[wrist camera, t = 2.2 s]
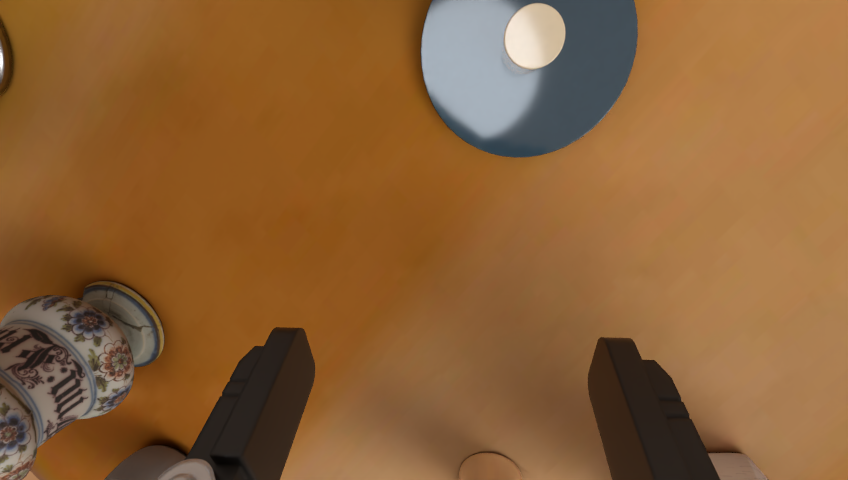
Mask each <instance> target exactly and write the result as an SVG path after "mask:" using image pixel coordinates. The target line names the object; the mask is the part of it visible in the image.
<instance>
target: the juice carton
mask: <svg viewBox="0 0 848 480" xmlns="http://www.w3.org/2000/svg"><path fill="white" fill-rule="evenodd" d="M708 455H709V457H710V459H711V461H712V463H713V465H714V467H715V469H716V471H717V474H718V476H719V478H720V480H768V479H767V477H766V476H765V475H764V474H763V473H762V472H761V470H760V469H759V468H758V467H757V466H756V465H755V464H754V462H753V461H752V460H751V459H750V458H749V457H748V456H747V455H745V454H740V453H708Z"/></svg>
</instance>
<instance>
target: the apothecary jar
mask: <svg viewBox="0 0 848 480" xmlns="http://www.w3.org/2000/svg"><path fill="white" fill-rule="evenodd" d="M163 347H164V331H163V327H162V324H161V321H160V319H159V317H158V316H157V314H156V312H155V311H154V310H153V308H152V307H151V306H150V304H149V303H148V302H147V301H146V300H145V299H144V298H143V297H141V296H140V295H139V294H138V293H136V292H135V291H133V290H132V289H130V288H128V287H126V286H124V285H122V284H119V283H115V282H110V281H98V282H94V283H91V284H89V285H87V286H86V287H85V288H84V293H83V297H82V298H78V299H75V298H71V297H66V296H58V295H47V296H40V297H35V298H31V299H28V300H26V301H23V302H22V303H20V304H18V305H16V306H15V307H14V308H12V309H11V310H10V311H9V312H8V313H7V314H6V316H5V317H4V318H3V320H2V322H1V324H0V480H22V479H23V478H24V477H25V476H26V475H27V474H28V472H29V471H30V469H31V468H32V466H33V463H34V461H35V458H36V453H37V448H38V447H39V446H40V445H42V444H43V443H44V442H46V441H47V440H48V439H49V438H51V437H52V436H54V435H55V434H56V433H58V432H59V431H60V430H62V429H63V428H65V427H66V426H68V425H69V424H70V423H72V422H74V421H75V420H76V419H86V418H92V417H97V416H100V415H103V414H105V413H107V412H109V411H111V410H112V409H114V408H115V407H117V406H118V405H119V404H120V403H121V402H122V401H123V400H124V399H125V397H126V396H127V394H128V393H129V391H130V389H131V387H132V383H133V378H134V367H142V366H146V365H148V364H151V363H152V362H154V361H155V360H156V359H157V358H158V357H159V356H160V354H161V352H162V350H163Z"/></svg>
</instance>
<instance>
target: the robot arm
mask: <svg viewBox="0 0 848 480" xmlns="http://www.w3.org/2000/svg"><path fill="white" fill-rule="evenodd" d="M11 74H12V55H11V49H10V45H9V41H8V38H7V35H6V33H5V30H4V28H3V26H2V24H1V22H0V95H2V94H3V92H4V91H5V90H6V88H7V86H8V84H9V82H10V79H11ZM314 378H315V363H314V359H313V356H312V353H311V349H310V346H309V343H308V340H307V336H306V333H305V331H304V329H303V328H280V327H276V328H274V329H273V330H272V332H271V333H270V335H269V337H268V339H267V341H266V343H265V345H264V346H255V347H254V348H253V349H252V350H250V351H249V352H248V353H247V354H246V355H245V356H244V357H243V358H242V359H241V360H240V361H239V363H238V365H237V367H236V368H235V370H234V372H233V374H232V376H231V378H230V382H228V383H227V385H226V387H225V389H224V390H223V392H222V396H220V398H219V400H218V401H217V403H216V405H215V407H214V409H213V410H212V412H211V414H210V416H209V418H208V420H207V421H206V423H205V425H204V427H203V429H202V431H201V432H200V434H199V436H198V438H197V440H196V442H195V443H194V445H193V447H192V449H191V451H190V452H189V454H188V455H187V457H186V458H185V459H184V460H183V461H181V462H179V463H176V464H175V465H173V466H171V467H170V468H168V469H167V470H166V471H164V472H163V473H162V474H161V475H160V476H159V477H158V478H157V479H156V480H280V477H281V475H282V472H283V469H284V466H285V463H286V460H287V457H288V455H289V452H290V449H291V446H292V443H293V440H294V437H295V435H296V432H297V429H298V426H299V423H300V420H301V417H302V414H303V412H304V409H305V406H306V403H307V400H308V397H309V394H310V392H311V389H312V386H313V382H314ZM588 390H589V396H590V400H591V404H592V407H593V411H594V414H595V418H596V422H597V425H598V429H599V432H600V436H601V440H602V443H603V447H604V450H605V454H606V457H607V461H608V465H609V468H610V472H611V475H612V479H613V480H720V478H719V476H718V474H717V471H716V469H715V467H714V465H713V463H712V461H711V459H710V457H709V455H708V453H707V451H706V449H705V447H704V444H703V442H702V440H701V438H700V436H699V434H698V432H697V430H696V428H695V426H694V424H693V422H692V420H691V419H690V418H689V413H688V411H687V409H686V407H685V405H684V403H683V402H681V397H680V395H679V393H678V390H677V388H676V386H675V384H674V382H673V380H672V378H671V377H670V376H669V375H668V374H667V373H666V372H665V371H664V370H663V369H662V368H661V366H660V365H659V364H658V363H657V362H656V361H655V360H642V359H641V356H640V354H639V352H638V350H637V347H636V345H635V343H634V341H633V340H632V339H630V338H604V337H601V338H599V339H598V342H597V345H596V349H595V352H594V356H593V359H592V363H591V366H590V370H589V374H588Z"/></svg>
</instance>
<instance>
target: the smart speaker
mask: <svg viewBox="0 0 848 480" xmlns="http://www.w3.org/2000/svg"><path fill="white" fill-rule="evenodd" d="M186 457H187V456H186V455H185V454H184V453H182V452H181V451H179V450H177V449H175V448H172V447H168V446H163V445H152V446H148V447H145V448H143V449H140V450H138V451H137V452H135V453H133V454H132V455H130V456H129V457H128V458H126V459H125V460H124V461H122V462H121V463H120V464H119V465H118V466H117V467H116V468H115V469H114V470H113V471H112V472H111V473H110V474H109V475H108V476H107V477H106V478H105V479H104V480H156V479H157V478H158V477H159V476H160V475H161V474H162V473H163V472H164V471H166V470H167V469H168V468H170V467H171V466H173V465H175V464H176V463H179V462H181V461H183V460H184V459H185V458H186Z"/></svg>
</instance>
